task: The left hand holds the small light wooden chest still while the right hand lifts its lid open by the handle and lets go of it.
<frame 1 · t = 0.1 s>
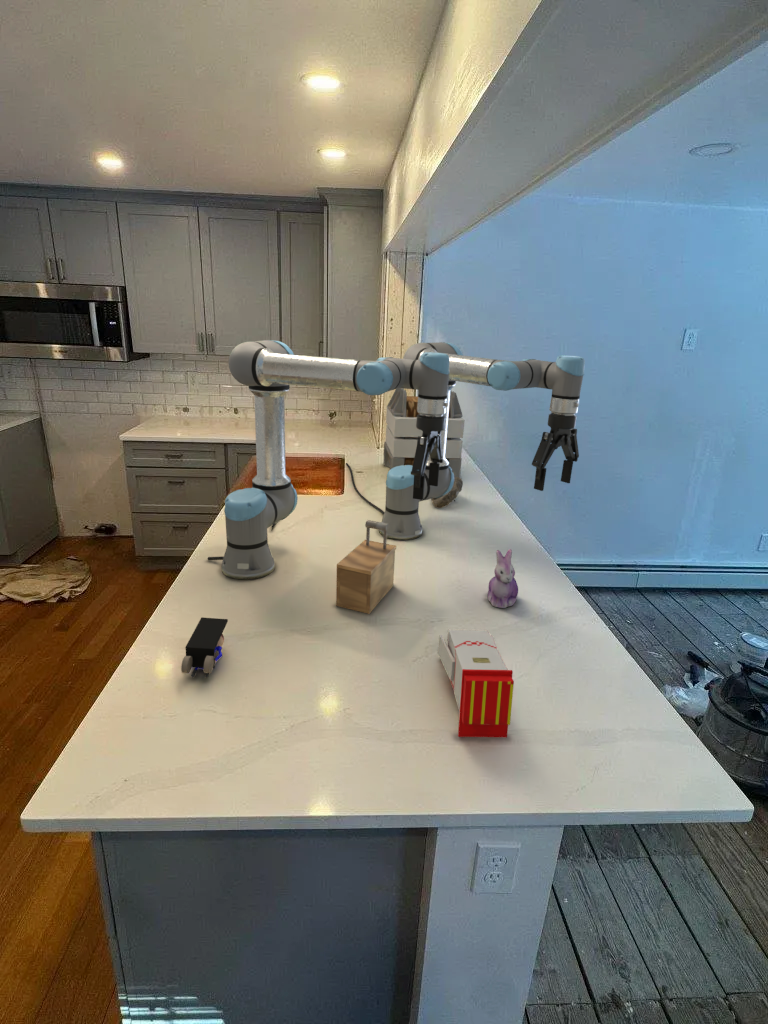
left hand: (425, 492, 155), 28 cm above the counter, tool pointing down, fingers open, 13 cm apart
right hand: (552, 485, 166), 28 cm above the counter, tool pointing down, fingers open, 13 cm apart
toy: (469, 691, 119), on the counter
grey wooden crate: (419, 473, 275), on the counter
chest: (365, 595, 156), on the counter
lid: (368, 543, 151), point 15 cm above the counter, hinge at 0.0°
feather: (279, 518, 209), on the counter
figurine: (502, 601, 156), on the counter
figurine character: (207, 663, 124), on the counter
fossil: (445, 501, 236), on the counter
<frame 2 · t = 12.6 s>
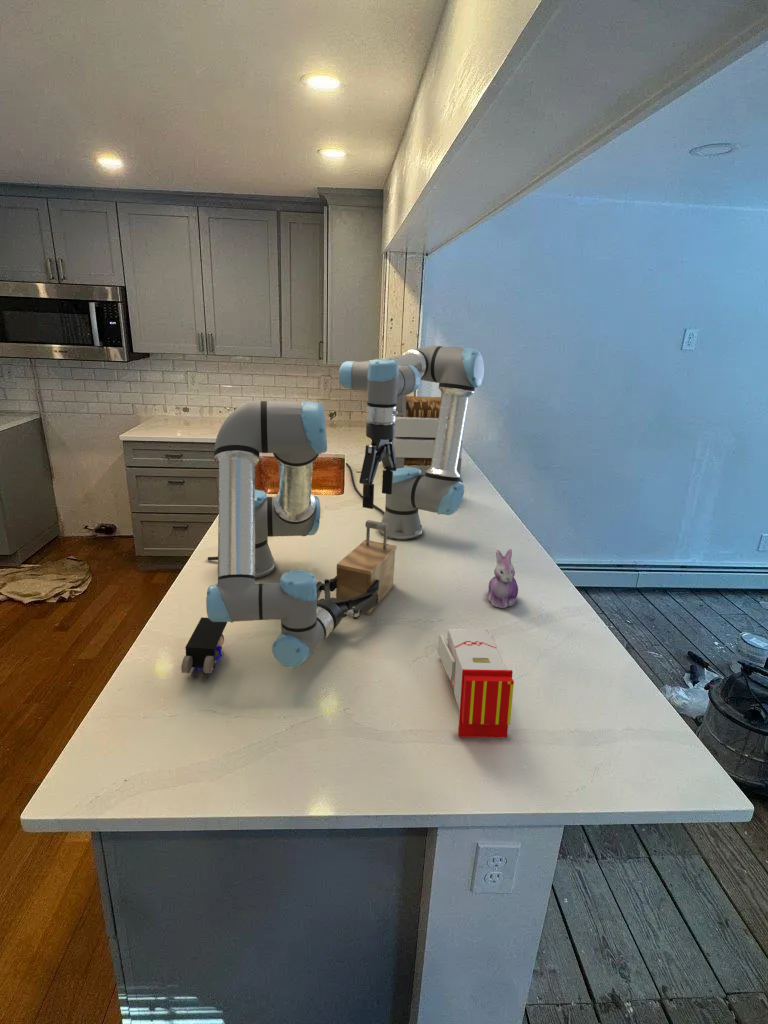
left hand: (359, 580, 150), 7 cm above the counter, tool horizontal, fingers closed on chest, 10 cm apart
right hand: (377, 500, 153), 26 cm above the counter, tool pointing down, fingers open, 13 cm apart
chest: (365, 595, 156), on the counter, touching left hand
everything else where it was.
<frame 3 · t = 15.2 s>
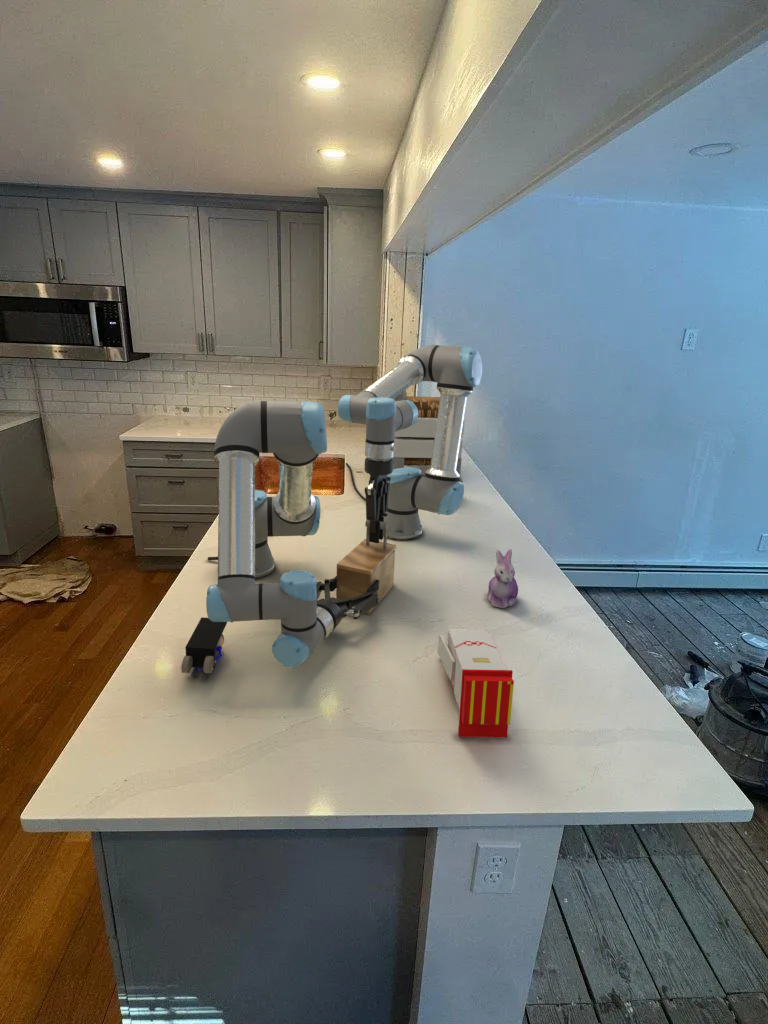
left hand: (359, 580, 150), 7 cm above the counter, tool horizontal, fingers closed on chest, 10 cm apart
right hand: (376, 540, 157), 14 cm above the counter, tool pointing down, fingers closed on lid, 2 cm apart
chest: (365, 595, 156), on the counter, touching left hand
lid: (368, 543, 151), point 16 cm above the counter, hinge at 0.8°, touching right hand
everything else where it was.
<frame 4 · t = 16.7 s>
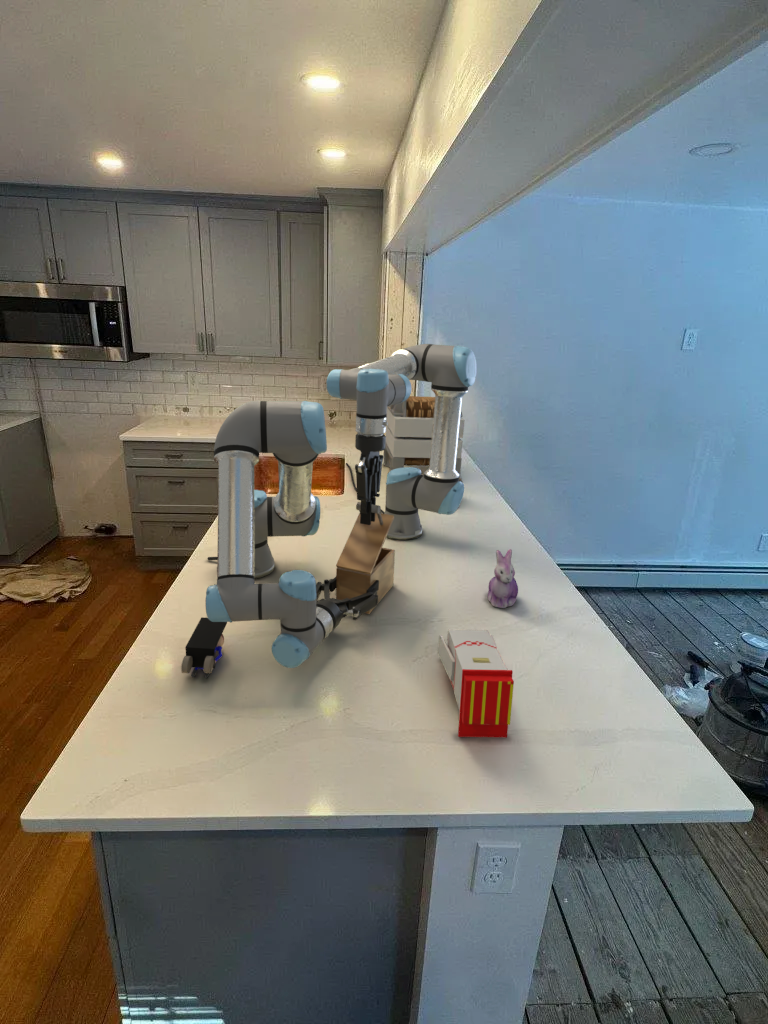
left hand: (359, 580, 150), 7 cm above the counter, tool horizontal, fingers closed on chest, 10 cm apart
right hand: (367, 522, 148), 22 cm above the counter, tool pointing down, fingers closed on lid, 2 cm apart
chest: (365, 595, 156), on the counter, touching left hand
lid: (362, 532, 146), point 20 cm above the counter, hinge at 33.4°, touching right hand
everything else where it was.
when the left hand's fingers open (7 cm above the counter, at t = 22.4 s): chest stays where it is, on the counter.
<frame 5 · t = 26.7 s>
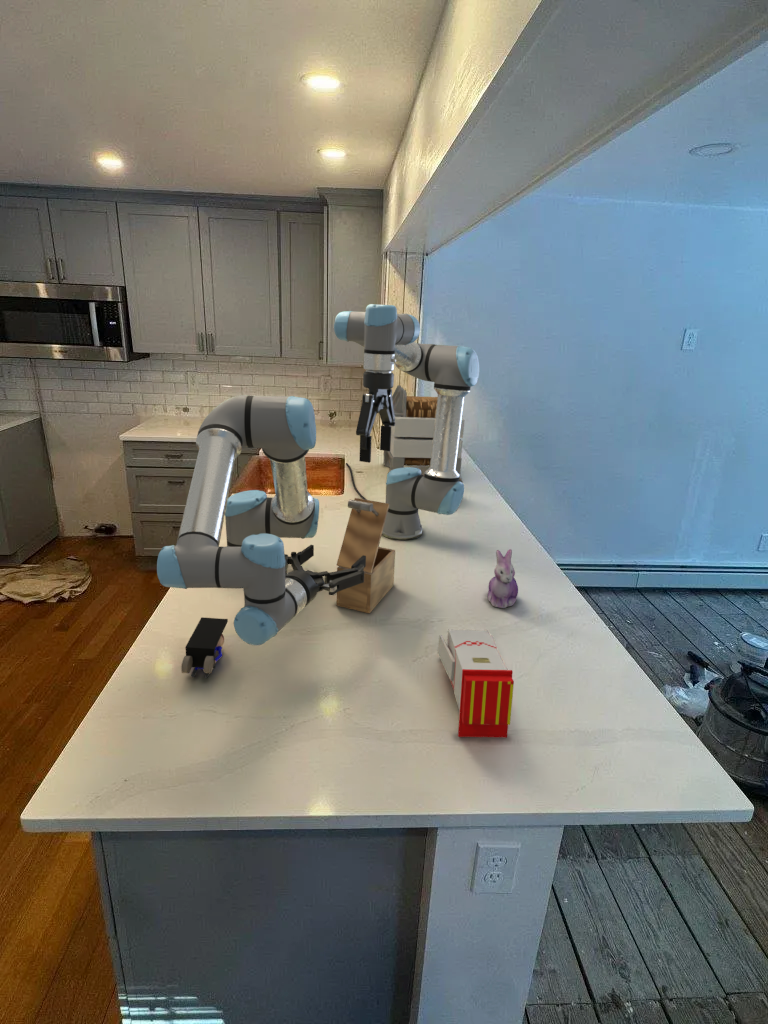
left hand: (337, 555, 134), 19 cm above the counter, tool horizontal, fingers open, 13 cm apart
right hand: (375, 455, 146), 39 cm above the counter, tool pointing down, fingers open, 13 cm apart
chest: (366, 595, 156), on the counter
lid: (358, 531, 143), point 21 cm above the counter, hinge at 55.3°
everything else where it was.
at the end: lid at +55° (first picture: +0°); the left hand is holding nothing; the right hand is holding nothing; chest tilted 0°; chest never tilted more than 2° during the clip; chest moved 0.2 cm from its start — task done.
